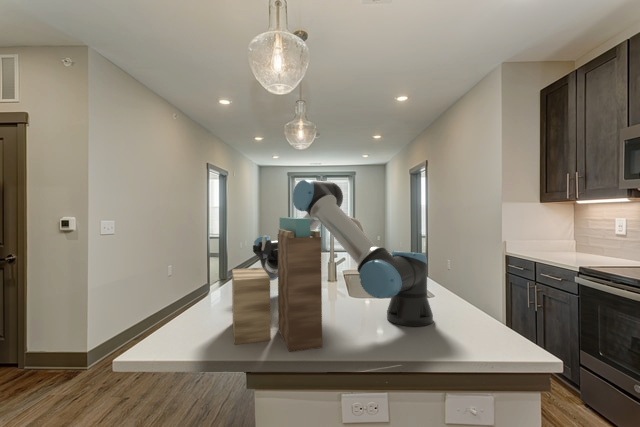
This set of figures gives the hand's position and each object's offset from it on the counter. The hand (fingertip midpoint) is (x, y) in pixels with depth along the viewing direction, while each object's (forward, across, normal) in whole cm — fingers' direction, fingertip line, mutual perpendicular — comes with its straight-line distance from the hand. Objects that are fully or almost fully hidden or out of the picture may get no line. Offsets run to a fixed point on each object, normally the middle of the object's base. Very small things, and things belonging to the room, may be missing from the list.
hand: (283, 238), depth 117 cm
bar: (+16, 0, -6) cm, 17 cm away
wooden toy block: (-2, +13, -30) cm, 33 cm away
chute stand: (+7, 0, -35) cm, 36 cm away
